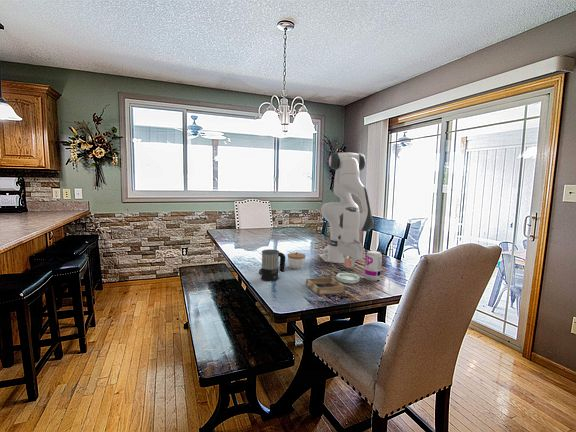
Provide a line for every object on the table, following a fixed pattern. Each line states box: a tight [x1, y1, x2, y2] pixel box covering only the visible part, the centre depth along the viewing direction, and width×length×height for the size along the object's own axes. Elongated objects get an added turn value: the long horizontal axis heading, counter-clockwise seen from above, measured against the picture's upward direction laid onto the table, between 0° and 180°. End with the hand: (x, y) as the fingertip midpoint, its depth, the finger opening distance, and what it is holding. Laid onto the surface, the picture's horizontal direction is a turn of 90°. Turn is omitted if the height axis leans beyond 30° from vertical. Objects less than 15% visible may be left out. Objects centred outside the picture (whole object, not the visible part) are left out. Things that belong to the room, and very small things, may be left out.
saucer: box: [335, 272, 361, 285], centre depth 159 cm, size 12×12×2 cm
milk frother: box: [258, 249, 286, 282], centre depth 159 cm, size 14×16×15 cm
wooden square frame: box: [305, 276, 346, 296], centre depth 145 cm, size 14×14×3 cm
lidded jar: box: [287, 251, 306, 270], centre depth 179 cm, size 11×11×9 cm
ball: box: [343, 257, 354, 269], centre depth 158 cm, size 5×5×5 cm
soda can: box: [364, 250, 383, 282], centre depth 161 cm, size 8×8×15 cm
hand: (349, 264), depth 158 cm, fingers closed on ball, 5 cm apart
